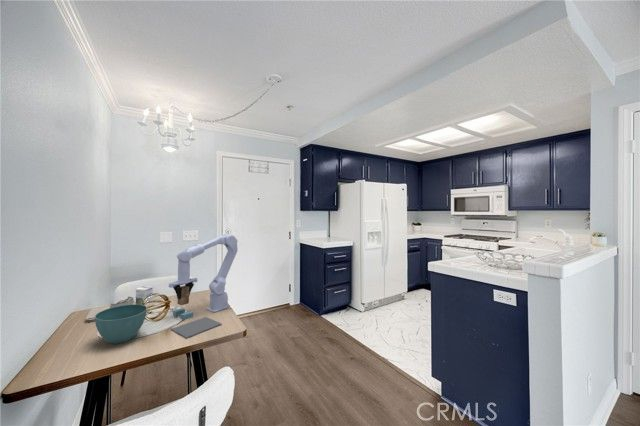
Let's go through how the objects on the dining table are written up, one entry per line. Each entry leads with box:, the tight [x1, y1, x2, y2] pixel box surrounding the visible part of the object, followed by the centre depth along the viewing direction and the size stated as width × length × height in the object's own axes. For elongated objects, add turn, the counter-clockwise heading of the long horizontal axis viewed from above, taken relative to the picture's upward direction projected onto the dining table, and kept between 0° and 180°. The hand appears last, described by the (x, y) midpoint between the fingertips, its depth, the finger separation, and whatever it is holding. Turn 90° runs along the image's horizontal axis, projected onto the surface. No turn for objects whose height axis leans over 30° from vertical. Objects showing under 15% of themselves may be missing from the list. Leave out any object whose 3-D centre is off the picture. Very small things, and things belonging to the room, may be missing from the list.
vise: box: [169, 306, 194, 321], centre depth 141 cm, size 5×17×2 cm, turn 56°
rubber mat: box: [170, 316, 222, 339], centre depth 126 cm, size 18×14×1 cm
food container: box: [109, 296, 135, 308], centre depth 134 cm, size 12×6×10 cm, turn 179°
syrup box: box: [135, 285, 154, 305], centre depth 142 cm, size 6×6×14 cm
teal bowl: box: [94, 303, 147, 345], centre depth 113 cm, size 18×18×12 cm
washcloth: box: [84, 305, 110, 324], centre depth 138 cm, size 12×18×3 cm, turn 36°
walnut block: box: [177, 285, 190, 306], centre depth 139 cm, size 4×4×9 cm
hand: (183, 297), depth 139 cm, fingers closed on walnut block, 4 cm apart
